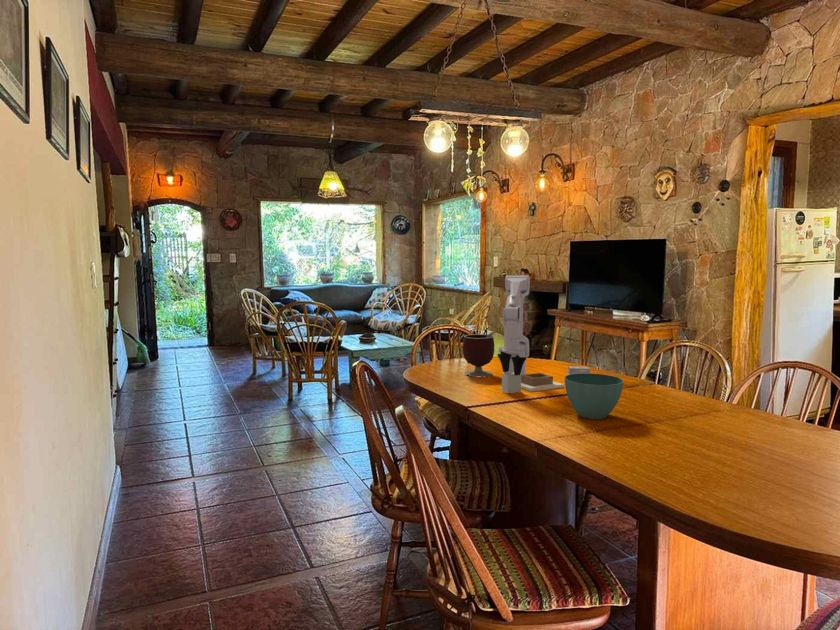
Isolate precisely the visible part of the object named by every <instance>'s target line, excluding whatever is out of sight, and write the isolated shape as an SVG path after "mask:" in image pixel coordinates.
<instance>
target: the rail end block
mask: <svg viewBox="0 0 840 630" xmlns="http://www.w3.org/2000/svg"><path fill="white" fill-rule="evenodd" d="M502 391H503V392H502ZM501 392H502V393H504V392H506V393H505V394H507V393H511V394H516V392H519V393H521V392H522V388H521V374H520V375H514V373H505V374H504V373H501Z"/></svg>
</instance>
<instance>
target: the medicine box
mask: <svg viewBox="0 0 840 630" xmlns="http://www.w3.org/2000/svg"><path fill="white" fill-rule="evenodd" d="M578 373H591V368H590V367H589V366H567V375H570V374H578Z"/></svg>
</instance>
